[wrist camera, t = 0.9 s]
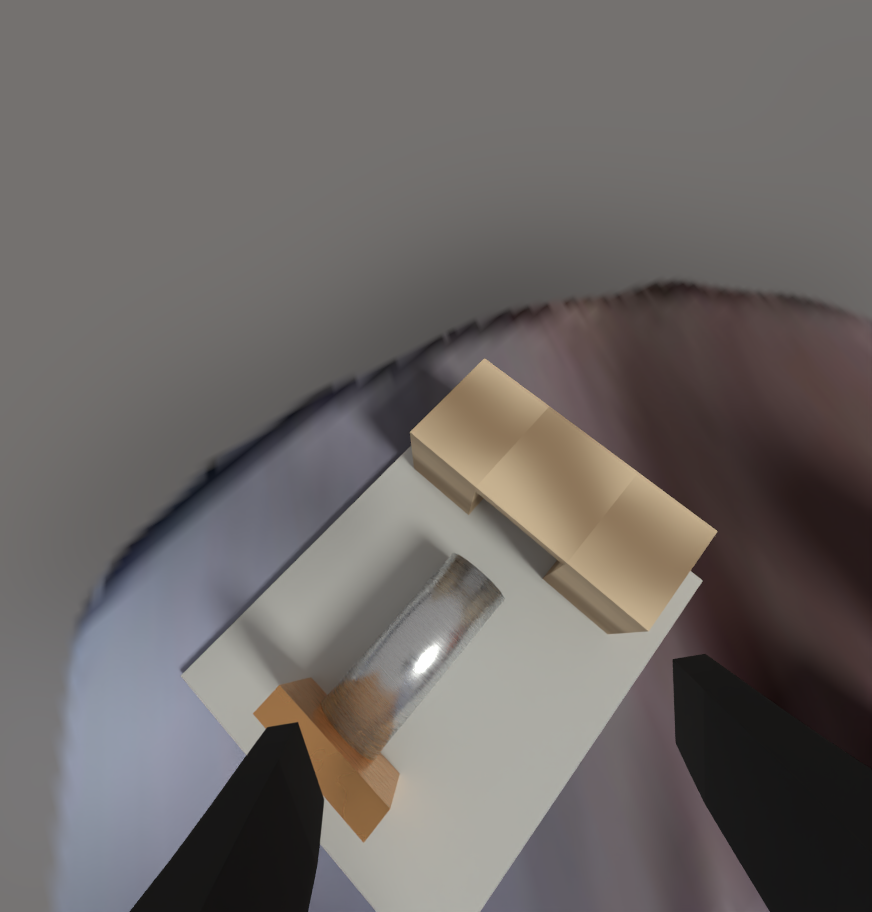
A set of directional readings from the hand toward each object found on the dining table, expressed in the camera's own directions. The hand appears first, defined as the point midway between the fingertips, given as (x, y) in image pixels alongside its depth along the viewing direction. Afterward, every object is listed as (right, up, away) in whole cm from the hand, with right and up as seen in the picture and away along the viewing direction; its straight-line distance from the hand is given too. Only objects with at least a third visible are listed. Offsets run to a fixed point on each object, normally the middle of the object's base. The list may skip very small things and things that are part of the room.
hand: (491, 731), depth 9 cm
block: (+4, +3, +15) cm, 15 cm away
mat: (0, -3, +13) cm, 13 cm away
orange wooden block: (-2, -3, +12) cm, 13 cm away
